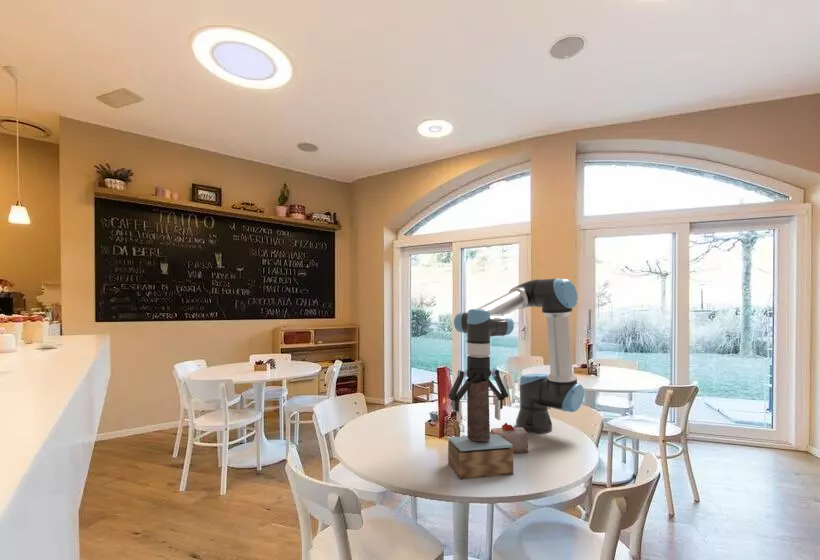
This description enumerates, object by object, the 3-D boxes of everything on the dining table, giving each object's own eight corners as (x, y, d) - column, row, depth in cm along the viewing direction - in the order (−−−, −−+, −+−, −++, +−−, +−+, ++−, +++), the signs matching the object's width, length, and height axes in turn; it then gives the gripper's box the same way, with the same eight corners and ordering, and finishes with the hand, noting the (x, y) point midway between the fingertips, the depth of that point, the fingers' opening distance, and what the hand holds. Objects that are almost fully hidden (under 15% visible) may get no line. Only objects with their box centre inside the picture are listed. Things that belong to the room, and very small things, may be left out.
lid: (496, 436, 144) (496, 433, 144) (512, 447, 132) (512, 444, 132) (448, 439, 140) (448, 437, 140) (460, 451, 128) (460, 448, 128)
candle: (484, 446, 131) (483, 382, 132) (463, 442, 135) (462, 380, 136) (493, 439, 137) (492, 378, 138) (472, 435, 141) (472, 376, 142)
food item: (493, 456, 147) (492, 428, 148) (486, 447, 155) (486, 421, 156) (529, 455, 149) (529, 427, 149) (522, 447, 157) (521, 420, 157)
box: (497, 460, 143) (497, 436, 144) (513, 474, 132) (513, 449, 132) (448, 464, 139) (448, 440, 140) (460, 479, 128) (460, 453, 128)
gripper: (508, 353, 143) (508, 414, 143) (439, 354, 138) (439, 419, 137) (518, 356, 136) (518, 421, 135) (446, 358, 131) (445, 425, 130)
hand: (478, 420), depth 136 cm, fingers open, 13 cm apart
